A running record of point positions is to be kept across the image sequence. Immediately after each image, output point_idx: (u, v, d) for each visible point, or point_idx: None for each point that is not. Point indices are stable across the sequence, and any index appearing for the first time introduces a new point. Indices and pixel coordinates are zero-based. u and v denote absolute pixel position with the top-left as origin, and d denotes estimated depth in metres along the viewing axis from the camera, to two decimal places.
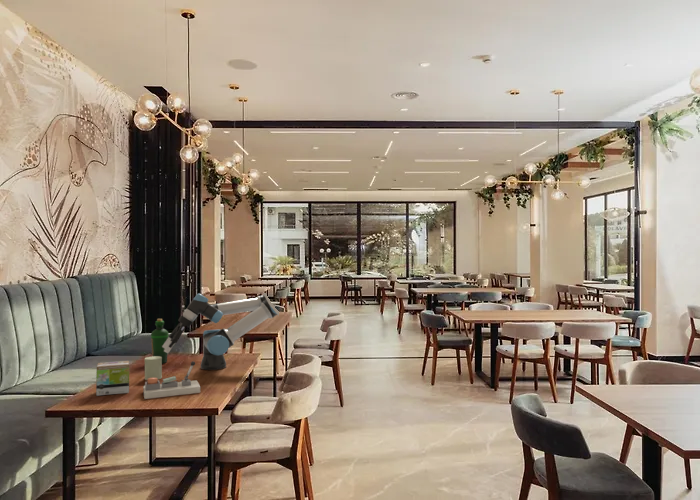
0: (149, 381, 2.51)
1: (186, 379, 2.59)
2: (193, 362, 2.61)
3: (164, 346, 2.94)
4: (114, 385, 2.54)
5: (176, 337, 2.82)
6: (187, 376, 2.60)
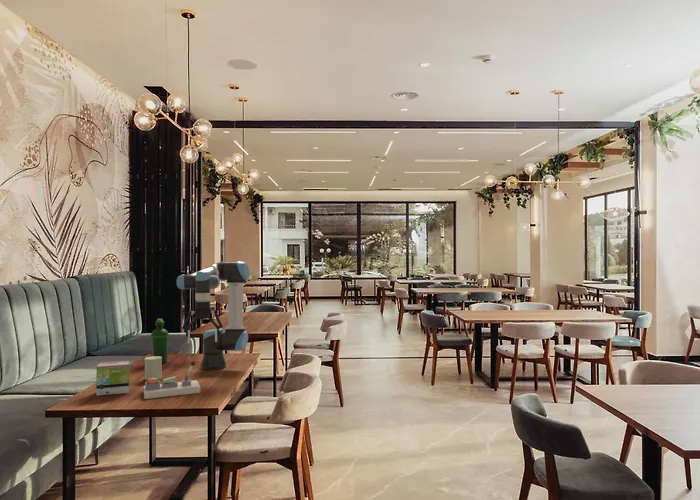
0: (149, 381, 2.51)
1: (186, 379, 2.59)
2: (193, 362, 2.61)
3: (189, 340, 2.63)
4: (114, 385, 2.54)
5: (220, 322, 2.68)
6: (187, 376, 2.60)
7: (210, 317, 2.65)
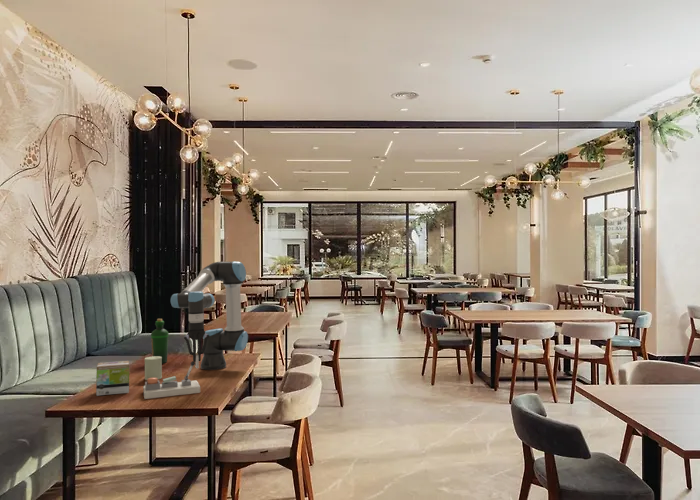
0: (149, 381, 2.51)
1: (186, 379, 2.59)
2: (193, 362, 2.61)
3: None
4: (114, 385, 2.54)
5: (204, 348, 2.63)
6: (187, 376, 2.60)
7: (200, 340, 2.61)
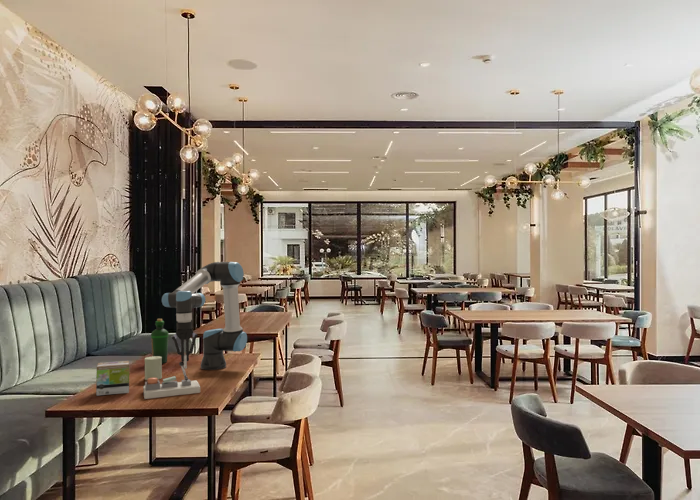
0: (149, 381, 2.51)
1: (186, 379, 2.59)
2: (180, 362, 2.58)
3: None
4: (114, 385, 2.54)
5: None
6: (185, 376, 2.59)
7: (188, 340, 2.59)
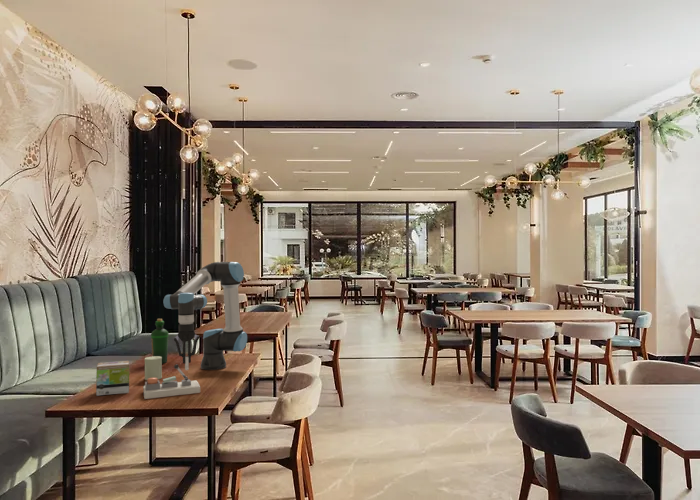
0: (149, 381, 2.51)
1: (187, 379, 2.59)
2: (175, 366, 2.57)
3: None
4: (114, 385, 2.54)
5: None
6: (185, 376, 2.59)
7: (190, 342, 2.59)
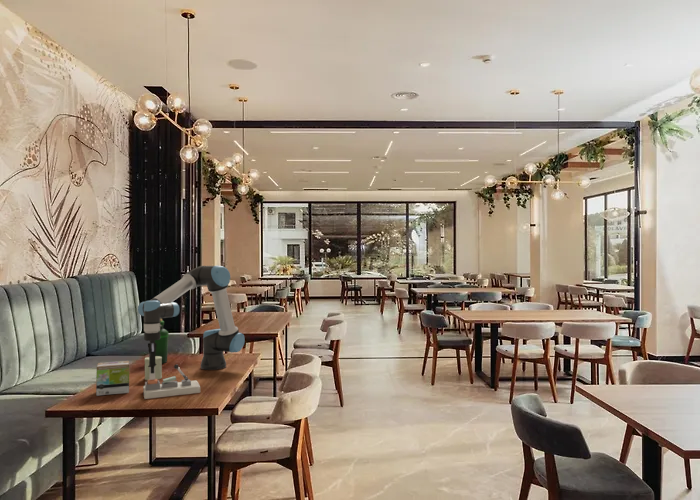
0: (149, 382, 2.51)
1: (187, 379, 2.59)
2: (175, 366, 2.57)
3: None
4: (114, 385, 2.54)
5: None
6: (185, 376, 2.59)
7: None
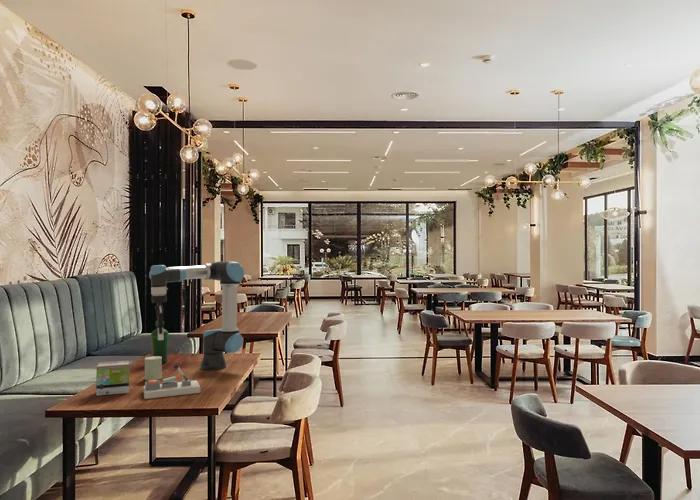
0: (149, 383, 2.51)
1: (187, 379, 2.59)
2: (175, 366, 2.57)
3: None
4: (114, 385, 2.54)
5: None
6: (185, 376, 2.59)
7: None
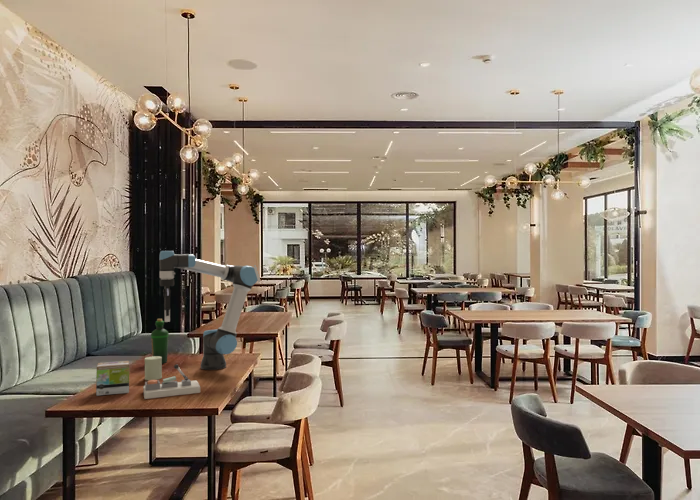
0: (149, 383, 2.51)
1: (187, 379, 2.59)
2: (175, 366, 2.57)
3: None
4: (114, 385, 2.54)
5: None
6: (185, 376, 2.59)
7: None
